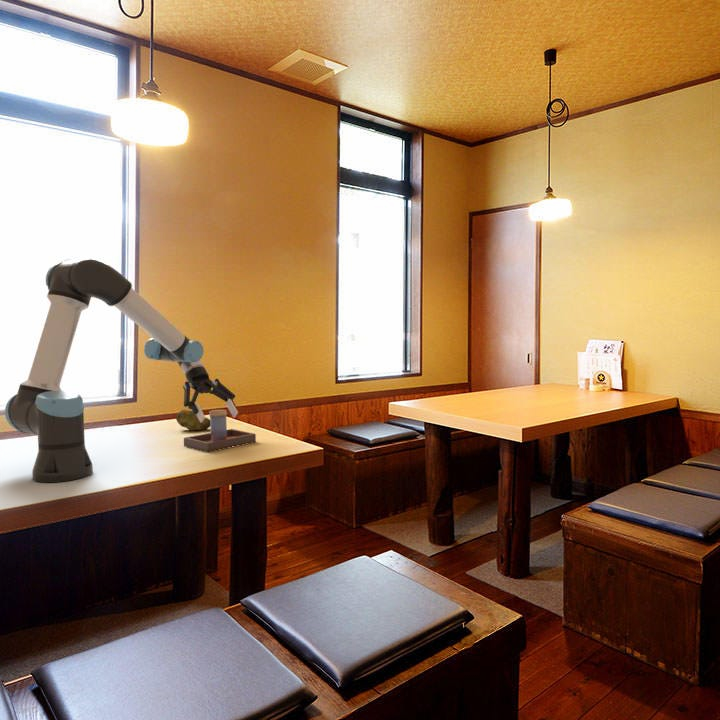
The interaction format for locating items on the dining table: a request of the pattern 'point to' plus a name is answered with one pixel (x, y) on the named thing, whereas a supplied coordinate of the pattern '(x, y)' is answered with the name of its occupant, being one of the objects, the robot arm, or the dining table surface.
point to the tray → (232, 439)
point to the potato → (191, 420)
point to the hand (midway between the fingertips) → (219, 417)
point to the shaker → (218, 425)
